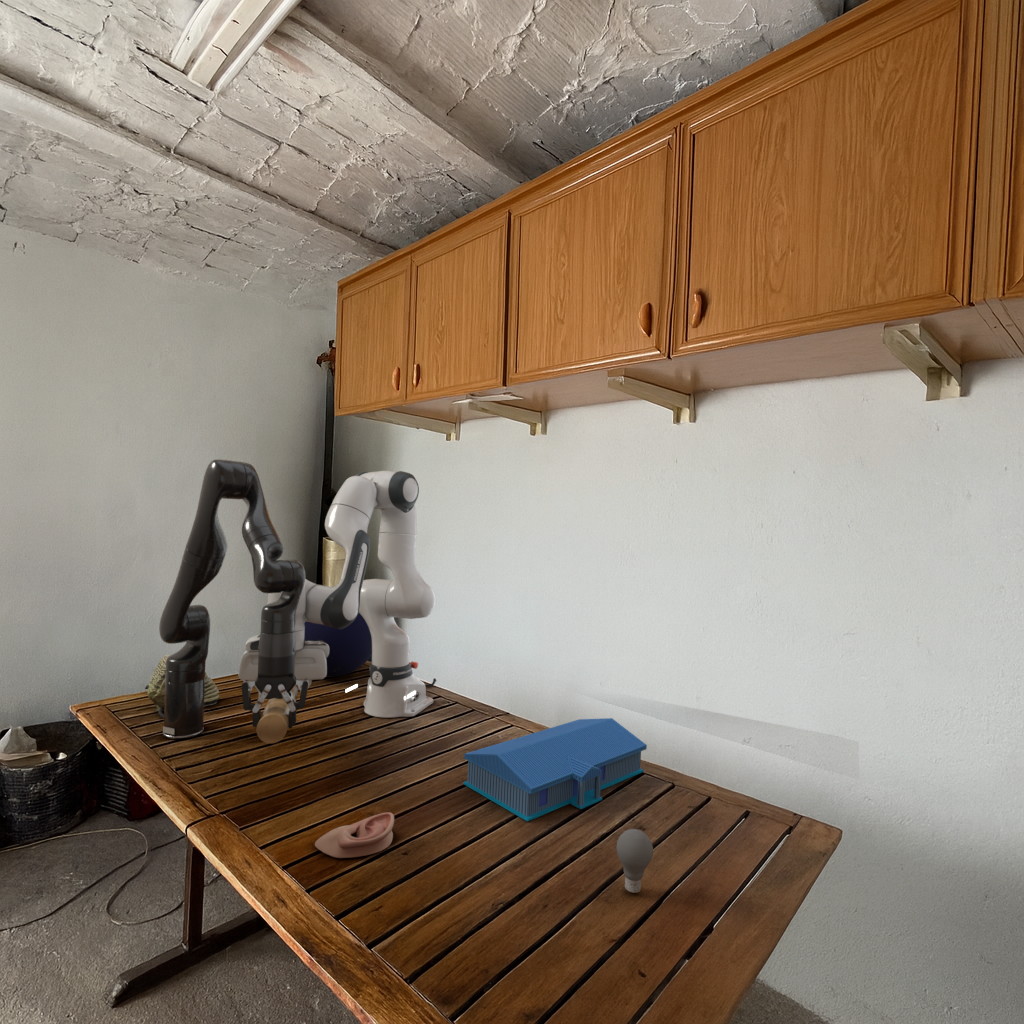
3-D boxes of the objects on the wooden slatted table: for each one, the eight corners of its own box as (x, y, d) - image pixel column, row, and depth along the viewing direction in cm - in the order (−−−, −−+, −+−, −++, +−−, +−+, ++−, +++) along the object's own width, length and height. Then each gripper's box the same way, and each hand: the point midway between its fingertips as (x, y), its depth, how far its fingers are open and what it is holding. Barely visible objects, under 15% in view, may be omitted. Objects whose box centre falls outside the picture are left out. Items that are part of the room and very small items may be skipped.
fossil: (144, 707, 182) (145, 655, 182) (212, 696, 194) (213, 647, 194) (151, 716, 175) (153, 662, 175) (221, 703, 188) (223, 653, 188)
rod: (286, 742, 135) (287, 714, 135) (255, 744, 133) (256, 715, 133) (297, 704, 159) (298, 680, 159) (271, 705, 157) (272, 681, 157)
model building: (538, 828, 124) (540, 777, 124) (462, 783, 143) (463, 739, 142) (655, 776, 151) (657, 734, 151) (578, 743, 169) (579, 706, 169)
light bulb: (610, 879, 108) (613, 822, 108) (644, 879, 109) (647, 822, 109) (619, 902, 102) (622, 840, 102) (655, 901, 103) (658, 840, 103)
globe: (268, 679, 214) (272, 591, 213) (326, 660, 242) (329, 582, 241) (341, 693, 203) (345, 600, 202) (393, 671, 230) (396, 589, 230)
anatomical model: (306, 830, 112) (337, 801, 124) (305, 853, 112) (336, 821, 124) (376, 842, 110) (401, 811, 121) (375, 865, 110) (400, 831, 121)
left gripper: (312, 647, 143) (309, 720, 144) (244, 647, 140) (242, 723, 140) (310, 655, 136) (307, 732, 136) (238, 656, 133) (235, 735, 133)
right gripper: (330, 637, 159) (327, 692, 159) (243, 638, 154) (240, 694, 154) (329, 643, 153) (326, 700, 153) (238, 643, 148) (235, 702, 148)
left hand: (274, 727), depth 138 cm, fingers closed on rod, 6 cm apart
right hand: (282, 697), depth 154 cm, fingers open, 8 cm apart
